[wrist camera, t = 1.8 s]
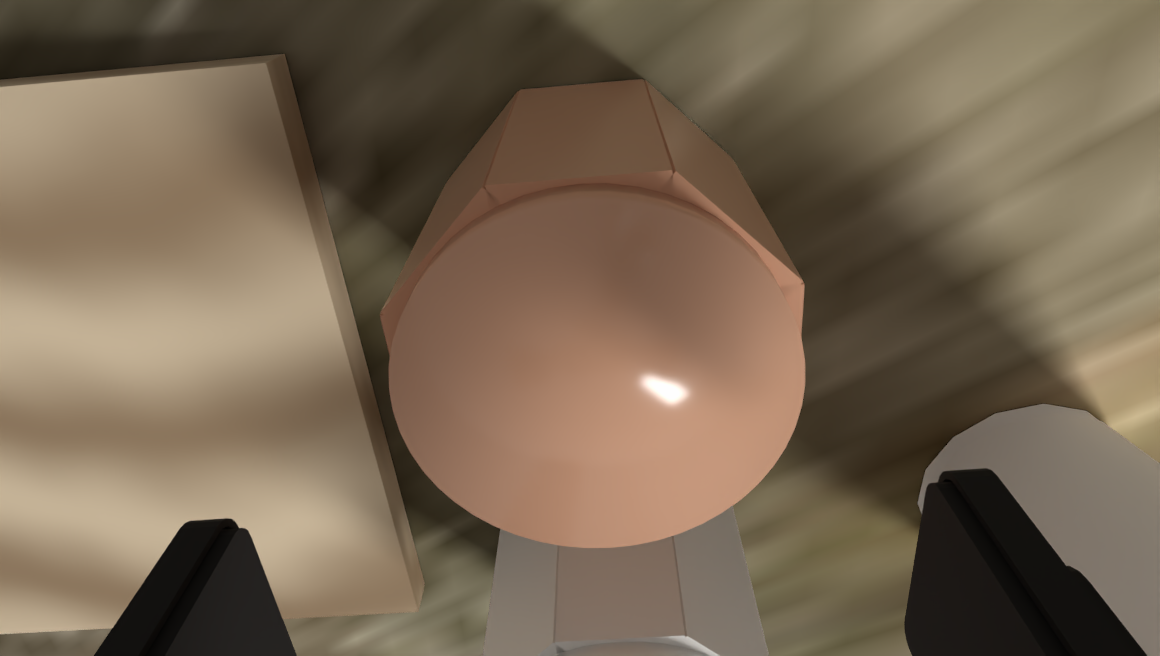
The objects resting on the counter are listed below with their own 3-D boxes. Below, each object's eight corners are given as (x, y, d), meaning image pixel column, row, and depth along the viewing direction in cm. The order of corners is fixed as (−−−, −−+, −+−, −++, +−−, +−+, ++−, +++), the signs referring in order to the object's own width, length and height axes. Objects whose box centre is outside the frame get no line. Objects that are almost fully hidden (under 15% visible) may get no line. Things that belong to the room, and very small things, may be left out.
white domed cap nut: (493, 451, 24) (456, 677, 17) (729, 436, 23) (789, 660, 16) (522, 611, 27) (501, 852, 20) (727, 601, 27) (776, 842, 20)
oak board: (-343, 111, 19) (-397, 123, 18) (284, 53, 18) (266, 63, 17) (-8, 607, 28) (-31, 635, 26) (424, 583, 27) (418, 611, 26)
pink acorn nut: (430, 97, 18) (336, 213, 12) (734, 70, 18) (826, 174, 11) (476, 354, 22) (425, 562, 15) (730, 337, 22) (799, 540, 15)
